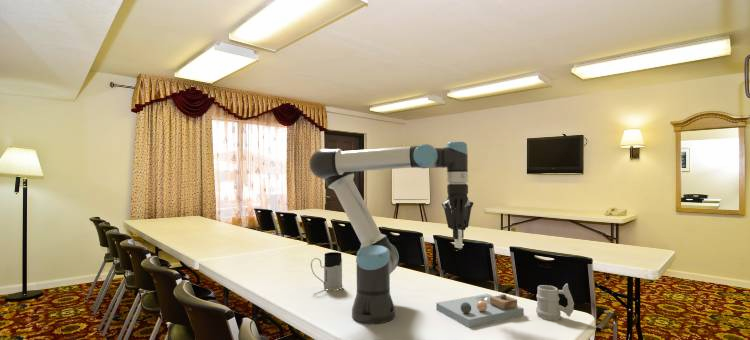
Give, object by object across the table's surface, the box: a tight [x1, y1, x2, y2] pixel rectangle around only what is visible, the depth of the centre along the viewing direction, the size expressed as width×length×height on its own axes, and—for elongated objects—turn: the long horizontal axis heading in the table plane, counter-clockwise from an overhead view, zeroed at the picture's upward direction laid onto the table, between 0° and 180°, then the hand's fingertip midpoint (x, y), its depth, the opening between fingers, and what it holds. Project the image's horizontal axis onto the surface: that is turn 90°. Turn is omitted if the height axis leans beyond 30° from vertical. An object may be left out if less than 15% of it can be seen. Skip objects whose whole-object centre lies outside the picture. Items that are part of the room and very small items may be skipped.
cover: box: [490, 293, 518, 310], centre depth 129 cm, size 6×6×4 cm
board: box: [435, 293, 525, 329], centre depth 130 cm, size 24×18×2 cm
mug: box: [535, 283, 575, 321], centre depth 125 cm, size 8×12×12 cm, turn 60°
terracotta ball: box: [477, 301, 487, 312], centre depth 124 cm, size 4×4×4 cm
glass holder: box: [310, 251, 344, 291], centre depth 160 cm, size 9×14×15 cm, turn 112°
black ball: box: [461, 302, 471, 314], centre depth 123 cm, size 4×4×4 cm
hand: (458, 247), depth 134 cm, fingers closed
